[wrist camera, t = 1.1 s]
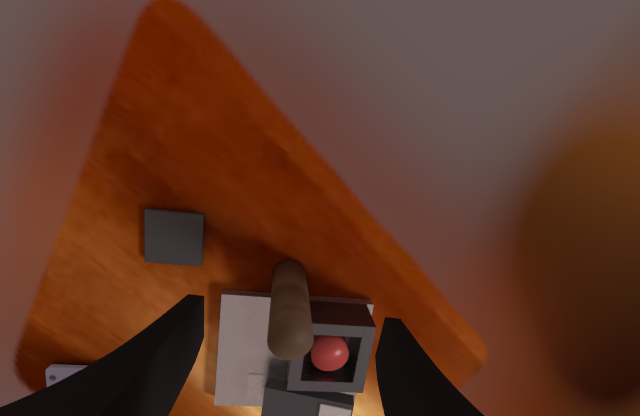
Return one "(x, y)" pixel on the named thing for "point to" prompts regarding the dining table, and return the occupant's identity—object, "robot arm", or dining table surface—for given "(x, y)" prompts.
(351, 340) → the panel
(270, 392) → the block
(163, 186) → the dining table surface
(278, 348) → the dowel
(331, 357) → the button
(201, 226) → the pad
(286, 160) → the dining table surface
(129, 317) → the dining table surface
